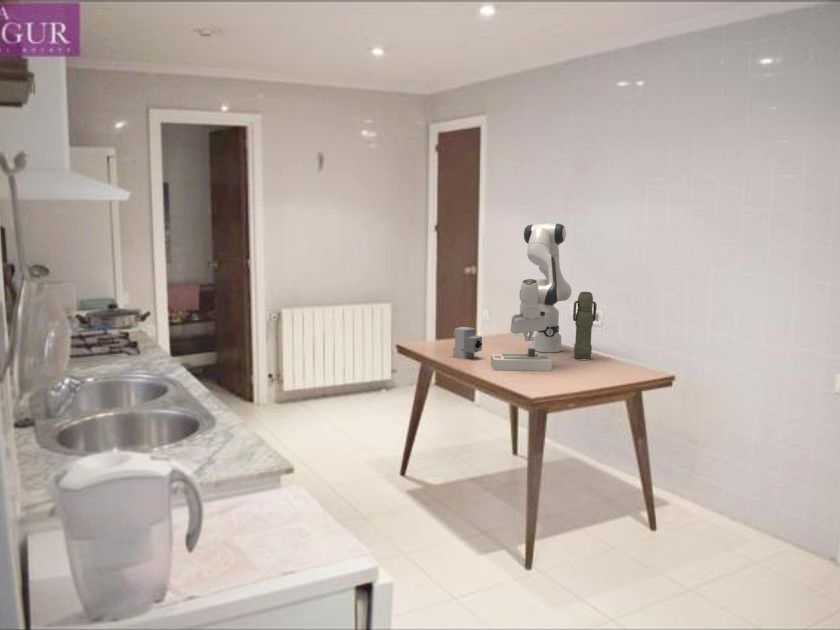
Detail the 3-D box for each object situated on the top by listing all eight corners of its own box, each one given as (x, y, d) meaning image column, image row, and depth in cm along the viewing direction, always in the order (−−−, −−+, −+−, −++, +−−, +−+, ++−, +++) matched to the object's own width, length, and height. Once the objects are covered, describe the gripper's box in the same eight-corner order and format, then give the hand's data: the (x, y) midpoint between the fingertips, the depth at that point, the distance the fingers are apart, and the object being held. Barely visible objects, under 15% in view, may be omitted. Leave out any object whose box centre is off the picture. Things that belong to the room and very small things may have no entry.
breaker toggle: (527, 356, 356) (528, 348, 355) (533, 356, 356) (534, 348, 355) (528, 357, 353) (529, 349, 352) (534, 357, 353) (535, 349, 352)
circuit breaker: (476, 360, 369) (477, 331, 367) (453, 356, 378) (453, 328, 375) (484, 358, 375) (485, 329, 373) (461, 354, 383) (462, 326, 381)
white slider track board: (490, 364, 362) (491, 352, 361) (546, 364, 362) (547, 353, 361) (493, 369, 349) (494, 357, 348) (551, 370, 349) (552, 358, 348)
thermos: (596, 359, 376) (600, 293, 371) (575, 360, 373) (579, 293, 368) (588, 356, 385) (592, 291, 379) (568, 357, 382) (571, 291, 377)
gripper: (516, 315, 343) (515, 344, 346) (549, 312, 354) (548, 339, 356) (507, 313, 349) (507, 342, 351) (540, 310, 359) (539, 337, 361)
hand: (528, 340), depth 354 cm, fingers closed
